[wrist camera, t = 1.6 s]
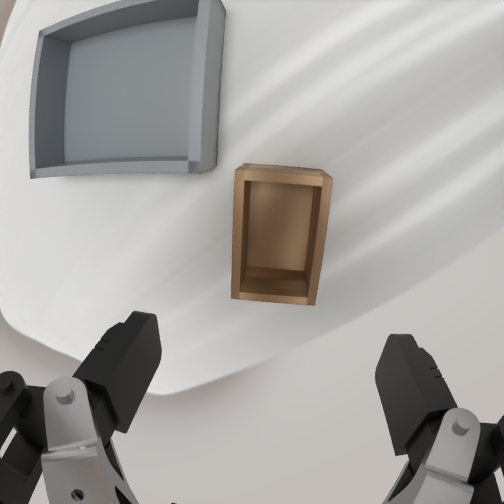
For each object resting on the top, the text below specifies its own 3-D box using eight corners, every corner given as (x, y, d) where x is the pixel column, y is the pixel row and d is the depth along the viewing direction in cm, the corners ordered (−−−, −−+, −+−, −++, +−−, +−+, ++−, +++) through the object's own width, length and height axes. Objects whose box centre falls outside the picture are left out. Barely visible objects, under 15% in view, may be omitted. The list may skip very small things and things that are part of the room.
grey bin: (226, 10, 18) (212, -16, 13) (216, 166, 23) (200, 173, 18) (71, 40, 19) (39, 31, 14) (64, 169, 24) (30, 178, 19)
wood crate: (321, 169, 22) (332, 178, 17) (309, 274, 25) (314, 305, 21) (244, 163, 22) (235, 170, 18) (240, 269, 26) (231, 298, 21)
